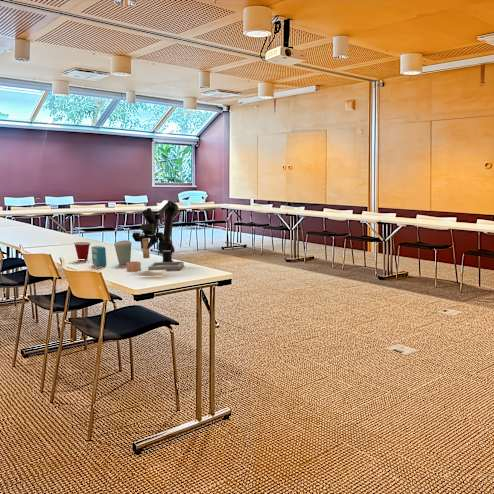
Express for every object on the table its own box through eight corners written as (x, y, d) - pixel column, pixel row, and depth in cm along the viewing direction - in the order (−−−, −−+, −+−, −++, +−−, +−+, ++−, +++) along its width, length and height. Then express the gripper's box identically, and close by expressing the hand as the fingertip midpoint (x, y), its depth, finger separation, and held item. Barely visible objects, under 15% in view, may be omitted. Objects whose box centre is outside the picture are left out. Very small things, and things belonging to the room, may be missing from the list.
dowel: (143, 257, 318) (142, 238, 316) (149, 257, 318) (148, 238, 317) (143, 258, 314) (142, 239, 313) (149, 258, 315) (148, 239, 313)
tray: (154, 266, 330) (154, 262, 330) (183, 265, 330) (183, 261, 329) (148, 271, 315) (148, 266, 314) (179, 270, 314) (179, 265, 313)
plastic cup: (88, 261, 362) (87, 243, 361) (72, 261, 363) (71, 243, 361) (93, 258, 373) (92, 241, 371) (78, 259, 373) (76, 241, 372)
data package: (92, 264, 346) (91, 246, 344) (99, 264, 348) (98, 245, 347) (99, 267, 336) (98, 247, 334) (106, 266, 339) (105, 247, 337)
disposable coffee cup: (128, 266, 334) (127, 242, 332) (112, 266, 336) (110, 242, 334) (135, 263, 344) (134, 240, 342) (119, 263, 347) (118, 240, 345)
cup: (129, 269, 321) (128, 261, 321) (142, 269, 321) (141, 261, 320) (125, 272, 313) (124, 263, 313) (139, 271, 313) (138, 263, 312)
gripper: (132, 218, 319) (124, 240, 310) (161, 218, 314) (155, 239, 305) (139, 230, 328) (132, 251, 319) (167, 230, 323) (161, 251, 314)
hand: (144, 248), depth 314 cm, fingers closed on dowel, 4 cm apart
